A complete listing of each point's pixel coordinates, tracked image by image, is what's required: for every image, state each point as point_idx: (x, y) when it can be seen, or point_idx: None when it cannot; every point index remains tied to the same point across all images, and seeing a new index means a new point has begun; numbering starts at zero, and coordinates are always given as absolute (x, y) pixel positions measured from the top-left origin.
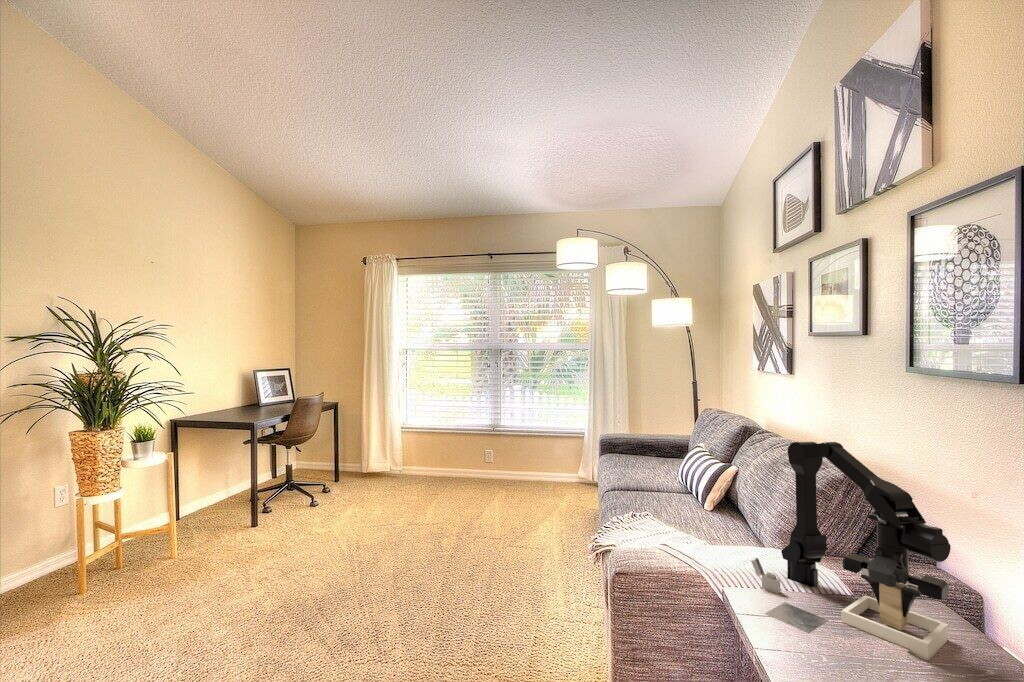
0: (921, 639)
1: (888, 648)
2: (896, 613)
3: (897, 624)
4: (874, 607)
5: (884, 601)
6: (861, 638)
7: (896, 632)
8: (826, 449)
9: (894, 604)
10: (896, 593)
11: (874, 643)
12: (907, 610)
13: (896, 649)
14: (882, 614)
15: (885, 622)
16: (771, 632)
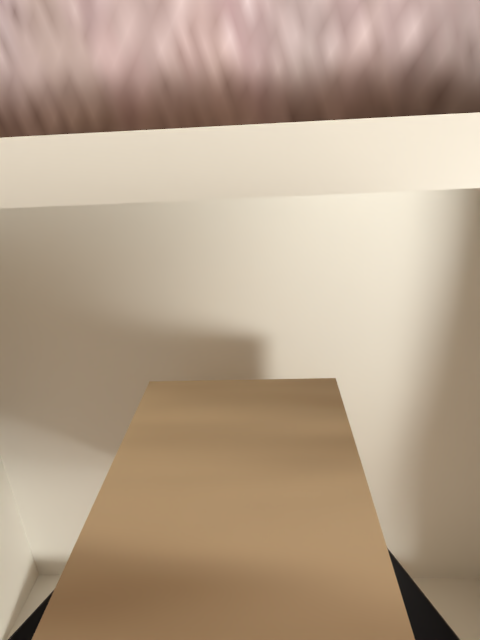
0: (69, 441)
1: (150, 52)
2: (147, 501)
3: (169, 409)
4: (451, 614)
5: (317, 628)
6: (395, 4)
7: (41, 136)
8: None
9: (140, 637)
10: None
11: (270, 23)
12: (21, 629)
13: (105, 112)
14: (319, 438)
15: (283, 390)
16: None
